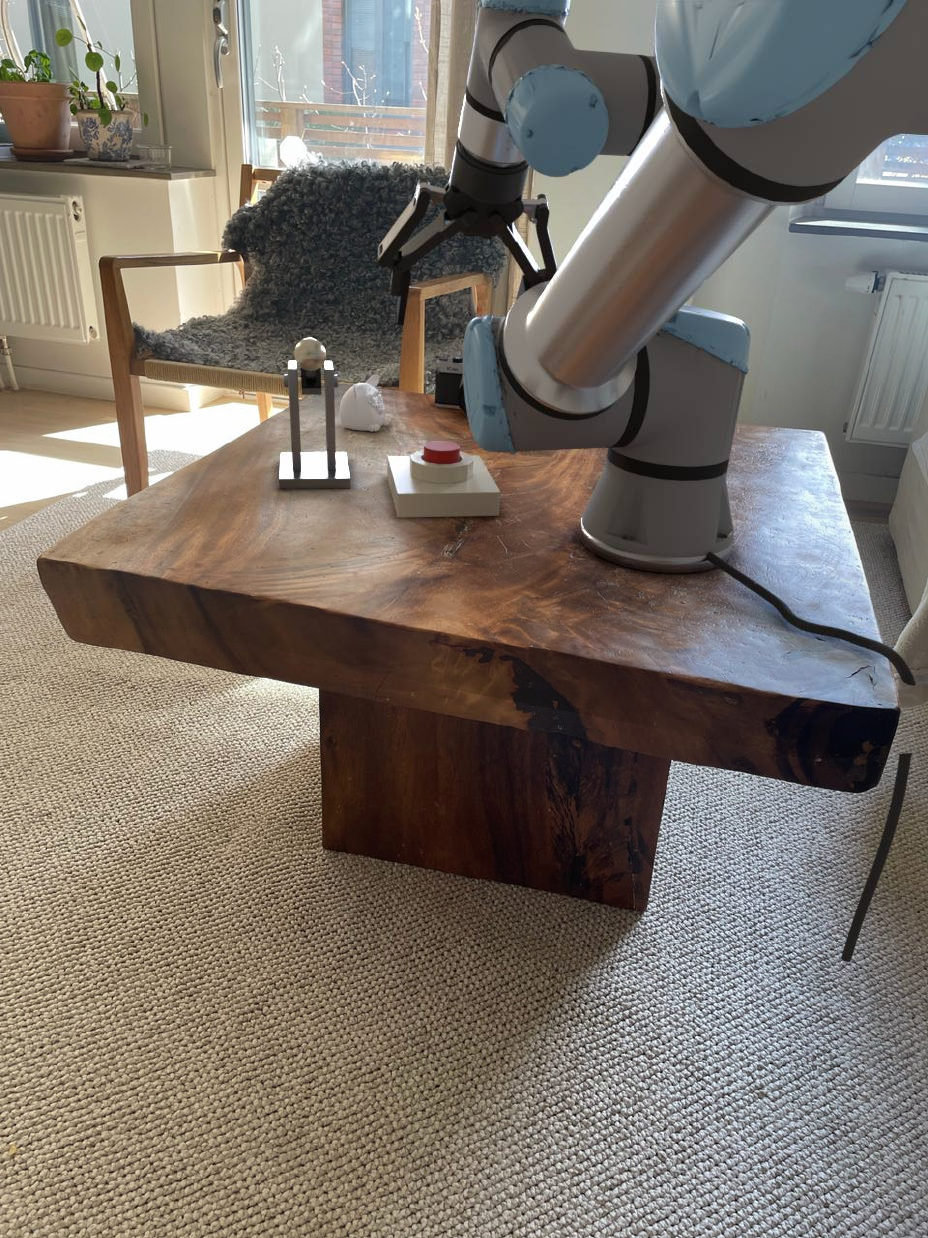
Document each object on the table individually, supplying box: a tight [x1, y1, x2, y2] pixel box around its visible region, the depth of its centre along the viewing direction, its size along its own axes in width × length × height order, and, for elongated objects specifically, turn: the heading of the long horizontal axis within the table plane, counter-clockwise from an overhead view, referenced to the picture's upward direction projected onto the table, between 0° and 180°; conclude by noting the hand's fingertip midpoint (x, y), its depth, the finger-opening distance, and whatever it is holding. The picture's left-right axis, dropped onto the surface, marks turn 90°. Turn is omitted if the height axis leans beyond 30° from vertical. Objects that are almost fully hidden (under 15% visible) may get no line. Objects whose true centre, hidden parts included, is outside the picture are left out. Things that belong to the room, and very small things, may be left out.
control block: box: [386, 449, 501, 518], centre depth 100 cm, size 13×11×4 cm
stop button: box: [423, 440, 461, 464], centre depth 98 cm, size 4×4×2 cm
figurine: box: [338, 373, 390, 433], centre depth 123 cm, size 8×6×7 cm
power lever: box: [293, 337, 327, 396], centre depth 95 cm, size 13×3×3 cm, turn 9°
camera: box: [433, 355, 467, 415], centre depth 133 cm, size 13×8×9 cm, turn 81°
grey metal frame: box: [278, 360, 351, 490], centre depth 102 cm, size 10×8×13 cm
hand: (457, 323), depth 104 cm, fingers open, 13 cm apart
